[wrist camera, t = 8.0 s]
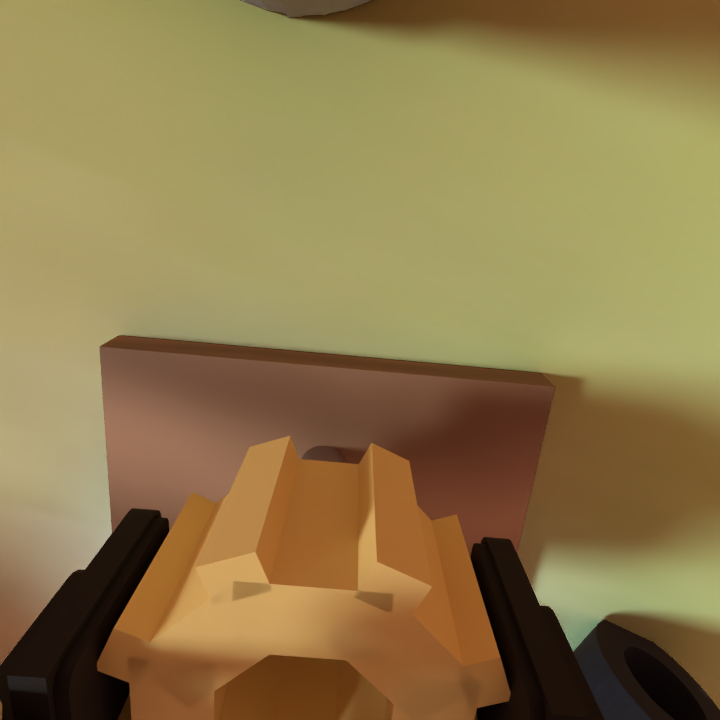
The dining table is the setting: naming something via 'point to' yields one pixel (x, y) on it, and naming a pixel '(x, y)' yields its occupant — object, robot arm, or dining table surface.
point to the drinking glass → (305, 6)
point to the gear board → (319, 425)
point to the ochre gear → (308, 603)
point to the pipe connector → (639, 679)
